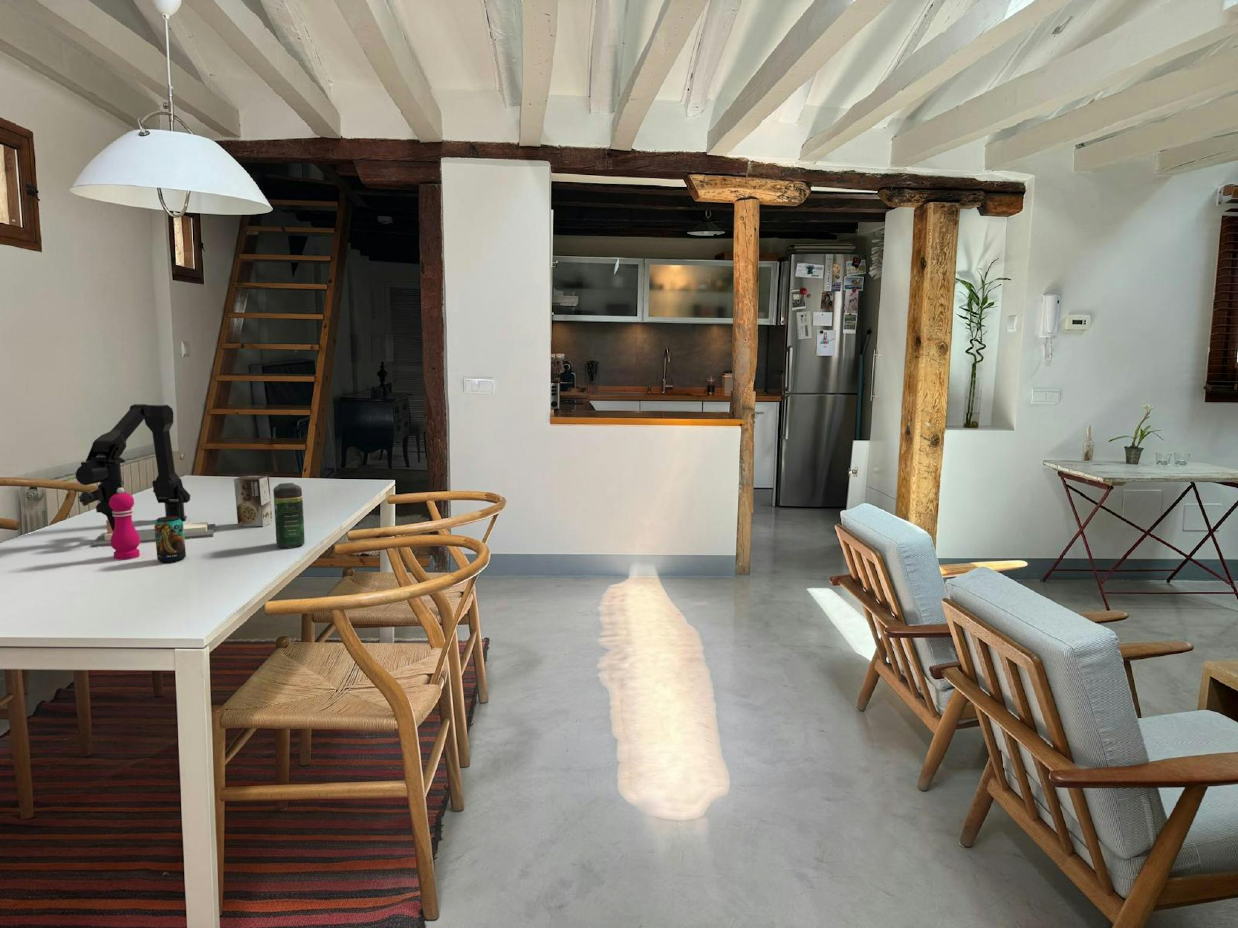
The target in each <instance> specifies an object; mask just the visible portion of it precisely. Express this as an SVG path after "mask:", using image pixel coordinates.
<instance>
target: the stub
mask: <svg viewBox="0 0 1238 928" xmlns="http://www.w3.org/2000/svg"><path fill="white" fill-rule="evenodd" d="M105 523H106V530H107V531H106V532H105V533H106V534H105V535H104V537H105V540H111V537H112V534H113V531H112V528H111V526H110V523H109V521H108V518H107V519H106V520H105Z"/></svg>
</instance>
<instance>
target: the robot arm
mask: <svg viewBox="0 0 1238 928" xmlns="http://www.w3.org/2000/svg"><path fill="white" fill-rule="evenodd" d="M128 409H129V410H128V411H127V412H126V413H125V414H124V415H123V417H122V418H121V419H119V421H118V422H117V423H116V425H114V427H113V428H112V429H111V430H109V431H108V432H106V433H103V434H101V435H100V436H98V437H97V438H96V439H95V440H94V441H93V442H92V444H91V448H90V450H89V452H88V455H87V457H86V460H85V461H81V462H80V467H78V468H77V470H76V472H75V479H76V480H77V482H78V483H79V484H80V485H83V486H88V485H92V484H98V483H99V484H98V485H97V488H95V489H92V490H84V491H82V492H80V495H78V498H79V502H80V503H81V504H82V506H83V507H85V506H88V505H89V504H91V503H94V502H96V501H98V502H99V503H97V504H96V506H95V509H96V510H95V511H96V513H99V514H103V515H104V516H106V518H107V519H108V521H109V523H110V526H111V528H112V531H114V528H115V518H114V516H112V515H113V513H112V511H114V510H113V509H112V508H111V507H110V505H109V500H110V498H111V497H112V496H113V495H114V494H117V493H118V492H117V489H118V488H123V489H124V486H123V485H124V480H123V477H122V467H121V465H122V464H124V463H126V459H124V458H123V457H121V456H122V454H123V453H124V452H125V450H126V448H127V440H128V439H129V438H130V436H131V435H132V434H133V433H134V431H136V430H137V428H138V427H139V426H140V424H142V422H143V421H144V423H145V425H146V427H147V428H148V429H149V430H150V432H151V433H152V439H153V446H154V454H155V461H156V467H157V476H156V478H155V480H152V483H151V484H152V489H153V490H152V492H153V493H154V495H155V498H156V501H157V503H158V504H164V510H165V511H164V513H165V517H167V516H179V517H180V520H181V521H182V522H183V521H186V520H187V517H188V516H187V515H185V504H186V503H188V502H190V501H191V494H190V493H189V492H188V491H187V490H186V489H185V488H184V486H183V481H182V479H181V478H180V477H179V475H178V474H177V473H176V471H175V463H174V462H175V461H174V455H173V448H172V441H171V435H170V430H171V428H172V426H173V424H174V410H173V407H170V405H167V404H146V403H133V404H132V405H130V407H129V408H128ZM124 493H127V492H126V491H124Z"/></svg>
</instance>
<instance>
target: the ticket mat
mask: <svg viewBox="0 0 1238 928" xmlns="http://www.w3.org/2000/svg"><path fill="white" fill-rule="evenodd" d="M183 526H184V538H185V540H189V539H190V538H192V539H201V538H211V537H212V538H213V537H214V533H215V530H216V523H208V522H207V521H203V522H193V523H192V522H191V523H183ZM136 531H137V533H138V534H139V537H140V544H144V543H153V542H154V543H156V539H155V528H150V529H136ZM106 533H107V532H102V533H100V534H99V536H98V537H97V539H96V540H95V541H94V542H93V543H92V548H97V546H101V547H111V540H105V537H104V535H105V534H106Z"/></svg>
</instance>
